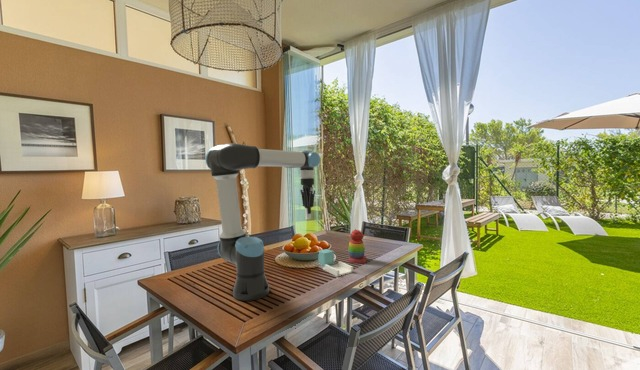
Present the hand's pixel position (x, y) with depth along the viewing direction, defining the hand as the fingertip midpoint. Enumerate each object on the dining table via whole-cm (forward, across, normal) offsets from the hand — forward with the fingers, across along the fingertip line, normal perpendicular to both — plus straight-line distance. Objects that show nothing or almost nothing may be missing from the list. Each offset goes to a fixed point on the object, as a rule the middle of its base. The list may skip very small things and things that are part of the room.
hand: (308, 219), depth 163 cm
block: (+25, -12, -4) cm, 27 cm away
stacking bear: (+25, -15, -23) cm, 37 cm away
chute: (+25, -18, -4) cm, 31 cm away
